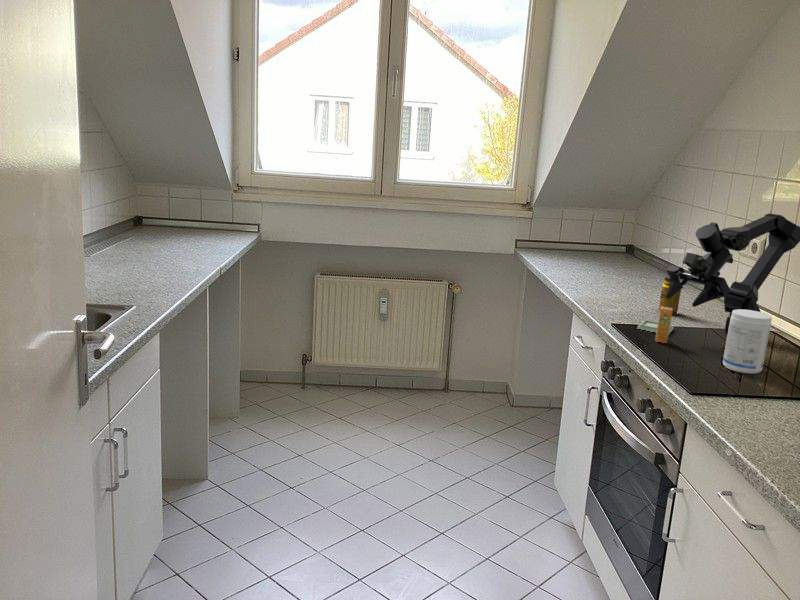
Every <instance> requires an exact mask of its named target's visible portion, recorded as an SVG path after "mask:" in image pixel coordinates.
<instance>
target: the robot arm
mask: <svg viewBox="0 0 800 600" xmlns="http://www.w3.org/2000/svg"><path fill="white" fill-rule="evenodd" d="M767 233H768V244H767V246H766V247H765V249H764V251H763V252H762V253H761V255H760V256H759V258H758V259H757V260H756V262H755V263H754V265H753V266H752V268H751V269H750V270H749V272H748V273H747V275H745V278H744V279H743V280H742V281H740V282H739V281H733V282H732V284H731V285H730V287H729V284H728V283H727V280H726V279H725V277H721V276H720V275H721V272H720V271H721V269H722V268H724V266H725V265H726V263H727V264H733V263H734V258H733V257H734V256H733V255H734V254H733V253H731V251H736V252H741V251H743V250H744V249H746V248H747V247H749V246H750V243H751V241H753V240H755V239H757V238H758V237H761V236H763V235H765V234H767ZM695 237H696V239H697V241H698V243H699V245H700V247H701V249H702V251H704V252H706V254H704V255H699V254H696V253H691V252H686V253H685V256H684V258H683V259H682V264H684V265H686V266H687V270H688V272H690V273H687V272H685V269H684V267H681V266H676V265H670V266H669V267H668V268H667V269H666V270H665V271H666V274H667V275H668V276H667V277H670V279H671V281H670V285H669V288H668V291H667V295H666V298H667V299H669V298H671V297H672V296H673V295H675V294H676V293H677V292H678V291H680V290H681V291H682V289H684V285H686V284H687V283H688V282H690V283H693V284H697V285H699V286H702V287H703V289H702V290H701V291H700V293H699V294H698V295H697V297H696V298H695V299H694V300H693V302H692V304H691V307H693V308H696V307H697V306H700V305H702V304H704V303H708V302H711V301H713V300H717V299H721V298H723V302H724V303H723V304H724V307H723V308H724V312H725V313H729V316H727V317H726V319H725V321H726V322H725V327H724V331H725V334H726V335H728V329H729V324H730V318H731V315H732V311H733V310H737V309H744V310H752V311H758V312H761V310H760V308H759V306H758V303H757V302H758V301H759V290H760V288H761V286H762V285H763V284H764V282H765V281H766V279H767V278H768V277H769V275H770V273H771V272H772V271H773V269H774V268H775V266H776V265H777V264H778V263H779V260H780V259H781V258H782V257H783V256H784V254H785V253H787V252H790V251H791V250H793V249H794V248H796V246H797V245H798V244H799V243H800V225H797V224H796V223H794V222H792V221H790V220H788V219H787V218H786V217H785V216H783V215H782V214H776V213H766V214H764V216H762V217H760V218H757V219H755V220H753V221H751V222H748V223H747V224H744V225H742V226H731V227H726V228H725V227H724V228H723V229H720V227H719V224H718V223H717V222H713V221H711V222H710V223H709V224H705V225H703V226H701V227H699V228H698V229H696V231H695Z"/></svg>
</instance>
